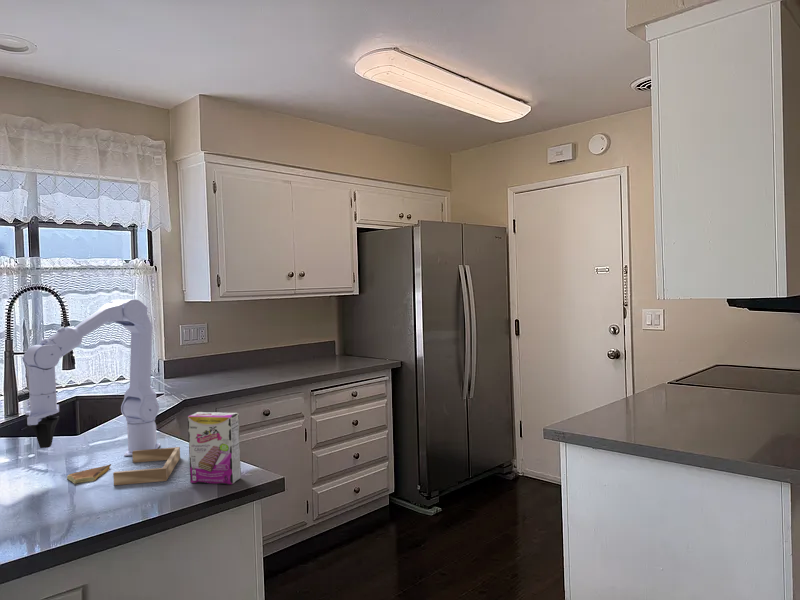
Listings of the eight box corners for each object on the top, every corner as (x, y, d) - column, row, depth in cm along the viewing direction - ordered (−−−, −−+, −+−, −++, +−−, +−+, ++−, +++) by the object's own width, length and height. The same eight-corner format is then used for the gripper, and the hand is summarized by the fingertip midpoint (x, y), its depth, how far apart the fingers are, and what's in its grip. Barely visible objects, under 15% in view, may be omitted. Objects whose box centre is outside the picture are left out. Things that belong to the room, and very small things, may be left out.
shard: (111, 469, 156) (111, 462, 156) (122, 475, 151) (122, 468, 151) (66, 480, 149) (66, 473, 149) (76, 487, 143) (76, 480, 143)
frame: (133, 461, 161) (133, 450, 161) (180, 457, 163) (179, 446, 163) (113, 485, 142) (113, 473, 142) (166, 480, 145) (166, 468, 145)
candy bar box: (189, 484, 142) (186, 416, 141) (199, 476, 147) (196, 411, 146) (233, 485, 140) (230, 416, 139) (242, 478, 145) (239, 411, 144)
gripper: (37, 388, 154) (40, 440, 154) (11, 399, 140) (15, 456, 140) (66, 387, 155) (69, 438, 156) (44, 397, 141) (47, 454, 141)
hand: (45, 447), depth 148 cm, fingers closed
